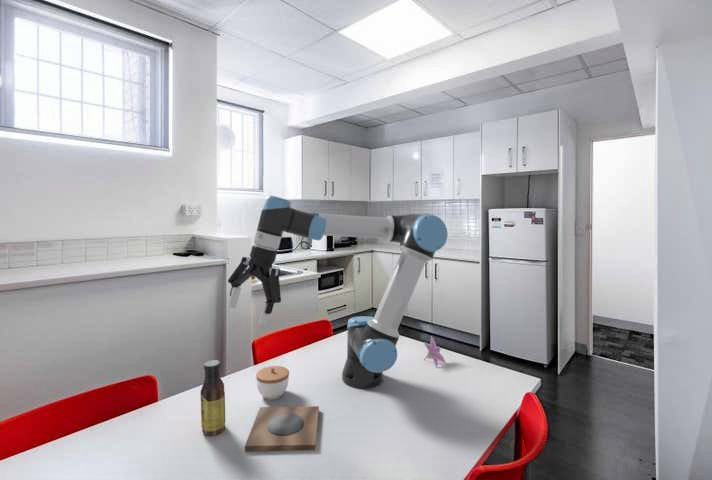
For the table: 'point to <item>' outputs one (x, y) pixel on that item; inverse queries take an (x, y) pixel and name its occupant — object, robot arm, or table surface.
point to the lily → (434, 352)
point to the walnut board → (284, 429)
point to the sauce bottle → (212, 400)
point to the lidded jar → (272, 381)
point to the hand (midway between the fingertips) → (246, 315)
